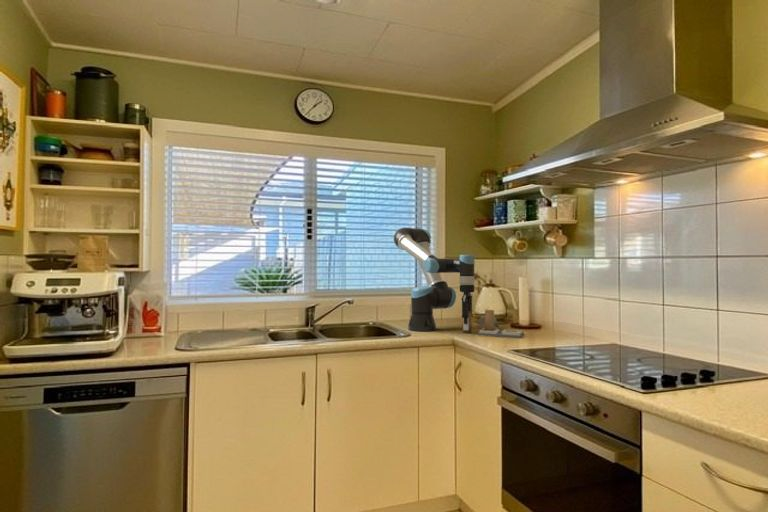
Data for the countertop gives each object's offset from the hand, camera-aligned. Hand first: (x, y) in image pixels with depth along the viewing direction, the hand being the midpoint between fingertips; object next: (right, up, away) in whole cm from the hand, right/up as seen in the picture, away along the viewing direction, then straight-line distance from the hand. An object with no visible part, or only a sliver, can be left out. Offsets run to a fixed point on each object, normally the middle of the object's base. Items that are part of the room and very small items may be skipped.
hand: (467, 329), depth 228 cm
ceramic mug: (+15, -2, +14) cm, 20 cm away
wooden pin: (0, -2, 0) cm, 2 cm away
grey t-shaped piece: (+15, -2, -7) cm, 17 cm away
